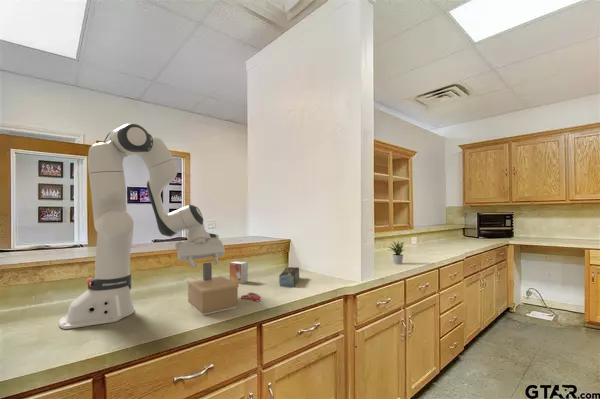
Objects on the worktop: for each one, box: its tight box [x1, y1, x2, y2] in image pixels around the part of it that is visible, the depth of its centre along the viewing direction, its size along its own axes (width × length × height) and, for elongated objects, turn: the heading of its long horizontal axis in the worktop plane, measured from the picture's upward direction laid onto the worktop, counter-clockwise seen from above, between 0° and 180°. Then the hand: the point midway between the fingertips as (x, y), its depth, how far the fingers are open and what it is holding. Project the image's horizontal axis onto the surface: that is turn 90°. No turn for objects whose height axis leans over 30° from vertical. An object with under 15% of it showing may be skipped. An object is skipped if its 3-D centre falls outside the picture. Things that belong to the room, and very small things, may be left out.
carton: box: [187, 283, 239, 316], centre depth 120 cm, size 14×18×8 cm
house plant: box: [388, 240, 405, 265], centre depth 208 cm, size 14×14×16 cm
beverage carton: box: [278, 267, 300, 288], centre depth 157 cm, size 8×19×7 cm, turn 172°
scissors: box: [240, 292, 269, 309], centre depth 125 cm, size 8×21×2 cm, turn 45°
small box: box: [229, 260, 249, 285], centre depth 157 cm, size 8×6×10 cm
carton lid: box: [186, 262, 240, 293], centre depth 120 cm, size 15×19×8 cm
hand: (205, 265), depth 127 cm, fingers open, 8 cm apart
